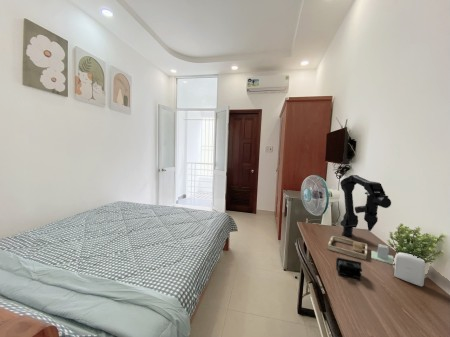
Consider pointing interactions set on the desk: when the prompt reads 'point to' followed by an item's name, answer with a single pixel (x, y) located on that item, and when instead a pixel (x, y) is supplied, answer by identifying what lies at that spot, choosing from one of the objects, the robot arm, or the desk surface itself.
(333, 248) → the corral
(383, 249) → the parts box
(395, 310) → the desk surface
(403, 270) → the photo printer
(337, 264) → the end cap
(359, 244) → the oak cube
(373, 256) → the pad
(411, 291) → the desk surface
